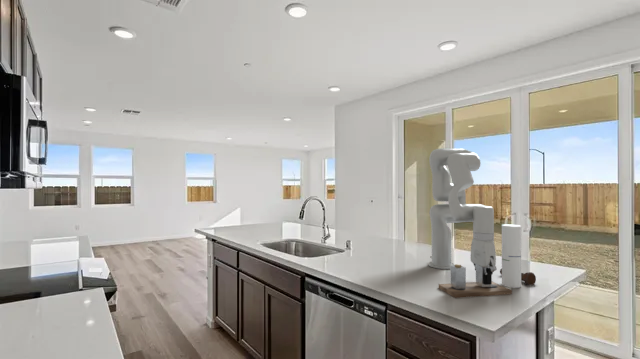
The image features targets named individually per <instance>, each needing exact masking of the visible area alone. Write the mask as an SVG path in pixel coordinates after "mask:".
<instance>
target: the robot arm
mask: <svg viewBox="0 0 640 359" xmlns="http://www.w3.org/2000/svg"><path fill="white" fill-rule="evenodd" d="M428 160H429V167H430V171H431V175H432V176H431V177H432V179H431V180H432V181H431V182H432V183H431V184H432V186H431V188H432V198H433V200H434V201H436V202H448V203H437V204H434V205H432V206H431V207H430V208H429V219H430V225H431V227H430V228H431V255H430V259H431V261H429V262H428V266H429V267H430V268H433V269H437V270H451V266H453V265H455V264H454V263H452V231H451V229H450V227H449V225H447V224H456V223H457V224H458V223H472V237H473V238H472V239H471V240H472V241H471V246H470V262H471V263H472V264H473V266H474V270H475V271H476V264H477V265H479V266H482V267H484V273H485V274H483V284H484V285H489V284H492V282H493V281H492V280H493V279H492V277H493V273H494V272H495V271H497V266H496V264H497V255H496V254H497V253H496V245H495V217H494V216H495V210H494V207H493V206H489V205H484V204H481V203H466V202H467V199H466V194H467V193H466V190H468V189H469V188H471V187H472V186H473V185H474V183H475V182H474V177H473V175H472V172H476V171H478V170H479V169H480V167H481V158H480V156H478V154H477V153H475V152H473V151H471V150H468V149H465V148H447V147H446V148H445V147H443V148H436V149H433V150H432V151H431V152H430V154H429V159H428ZM446 166H447V167H448V168H447V167H446ZM451 181H452V182H451ZM488 265H489V266H488ZM487 268H489V269H488V270H487Z"/></svg>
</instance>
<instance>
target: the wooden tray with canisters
mask: <svg viewBox="0 0 640 359" xmlns="http://www.w3.org/2000/svg"><path fill="white" fill-rule="evenodd" d="M466 270H467V269H466V267H465V266H462V264H458V263H457V264H454V265H453V266H451V269H450V283H438V289H440V290H441V291H443V292H444V293H446V294H448V295H450V296H451V297H453V298H454V299H459V298H474V297H489V296H503V295H504V296H505V295H512V294H513V290H512V289H510V288H509V287H507V286H504V285H501V284H499V283H497V282H494V281H492V284H491V287H481V286H479V285H477V284H476V281H467V276H466V275H467V274H466V272H467V271H466ZM466 281H467V282H466Z"/></svg>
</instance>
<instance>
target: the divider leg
mask: <svg viewBox="0 0 640 359" xmlns="http://www.w3.org/2000/svg"><path fill="white" fill-rule="evenodd" d="M488 266H489V265H488ZM488 269H489V268H487V270H488ZM483 274H485V273H484V267H482V266H479V265H477V264H476V270H475V282H476V284H477V285H479V286H481V287H491V284H489V285H484V284H483Z"/></svg>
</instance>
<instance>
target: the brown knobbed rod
mask: <svg viewBox="0 0 640 359" xmlns="http://www.w3.org/2000/svg"><path fill="white" fill-rule="evenodd" d="M499 273H500V275H501V276H502V268H501V269H500V270H499ZM536 278H537V276H536V275H535V273H534V272H525V273H524V272H521V282H524V284H525V285H526V286H533V285H535V284H536V282H537V280H536Z"/></svg>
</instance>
